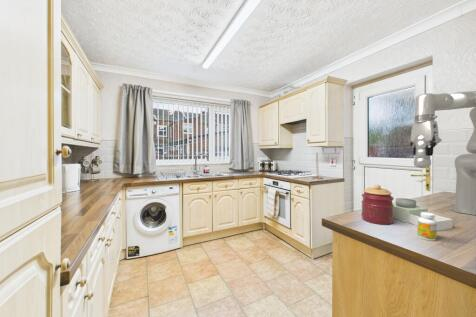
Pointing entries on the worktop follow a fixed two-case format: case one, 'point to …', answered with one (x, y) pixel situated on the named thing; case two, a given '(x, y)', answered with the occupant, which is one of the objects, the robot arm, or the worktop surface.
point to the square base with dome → (416, 214)
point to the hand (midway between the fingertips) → (422, 155)
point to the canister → (377, 205)
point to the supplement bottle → (427, 226)
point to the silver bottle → (421, 153)
